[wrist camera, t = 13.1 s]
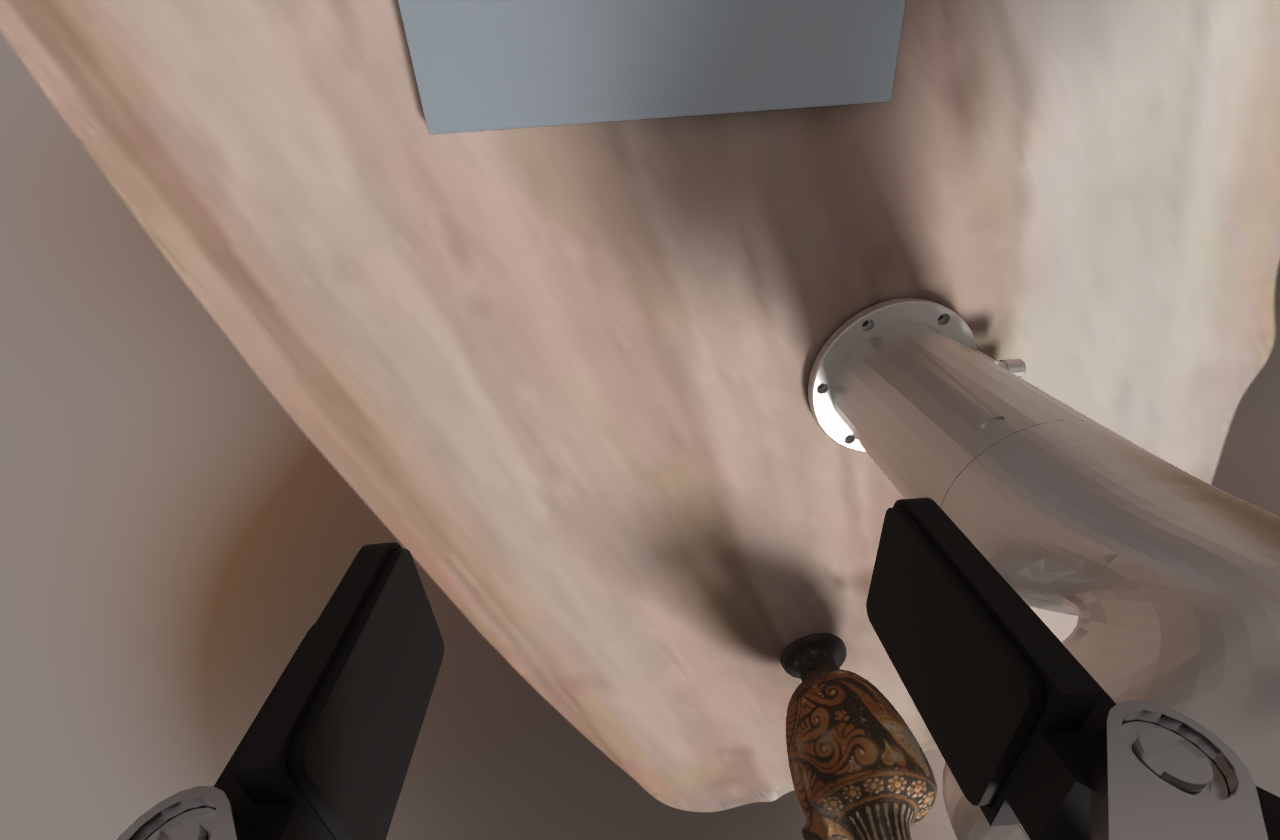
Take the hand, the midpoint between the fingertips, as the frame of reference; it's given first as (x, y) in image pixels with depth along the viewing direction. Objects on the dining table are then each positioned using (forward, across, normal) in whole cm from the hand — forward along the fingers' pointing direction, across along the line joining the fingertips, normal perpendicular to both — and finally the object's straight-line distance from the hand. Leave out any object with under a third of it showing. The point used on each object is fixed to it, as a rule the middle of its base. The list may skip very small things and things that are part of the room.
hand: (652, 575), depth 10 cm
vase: (+28, -17, +43) cm, 54 cm away
